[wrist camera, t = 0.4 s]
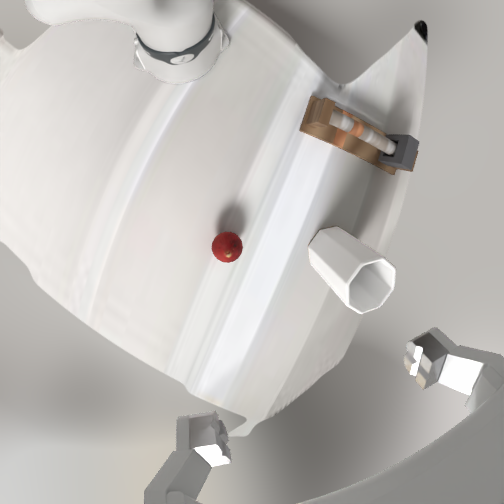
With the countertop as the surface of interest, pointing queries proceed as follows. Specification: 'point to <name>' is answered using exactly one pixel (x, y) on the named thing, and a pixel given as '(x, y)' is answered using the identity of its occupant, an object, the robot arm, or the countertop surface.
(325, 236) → the cup
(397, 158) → the collar
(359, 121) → the pipe rack
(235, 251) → the onion
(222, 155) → the countertop surface
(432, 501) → the robot arm
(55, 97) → the countertop surface
